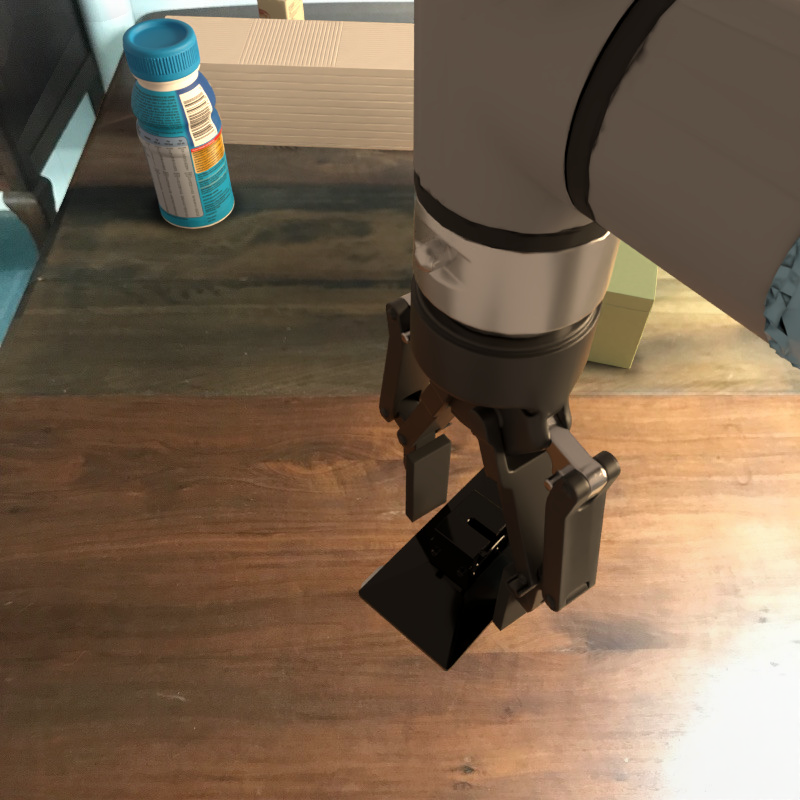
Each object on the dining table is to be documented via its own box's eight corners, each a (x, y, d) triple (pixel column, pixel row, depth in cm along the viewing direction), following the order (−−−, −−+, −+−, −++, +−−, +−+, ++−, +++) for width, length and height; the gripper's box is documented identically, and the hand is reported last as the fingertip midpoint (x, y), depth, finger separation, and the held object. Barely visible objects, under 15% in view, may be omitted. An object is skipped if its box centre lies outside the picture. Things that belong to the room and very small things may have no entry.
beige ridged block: (429, 106, 102) (432, 23, 94) (427, 155, 96) (430, 70, 87) (184, 98, 103) (165, 15, 95) (164, 145, 96) (143, 60, 88)
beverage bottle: (160, 238, 86) (110, 60, 70) (159, 191, 91) (111, 16, 75) (239, 228, 87) (206, 52, 71) (233, 182, 92) (201, 8, 76)
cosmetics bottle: (280, 52, 111) (272, -23, 103) (309, 58, 110) (303, -17, 102) (264, 70, 108) (254, -6, 100) (293, 76, 107) (286, 0, 99)
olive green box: (647, 206, 90) (677, 110, 81) (628, 373, 74) (662, 278, 65) (526, 185, 92) (541, 90, 83) (482, 343, 76) (495, 248, 67)
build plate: (447, 674, 44) (450, 642, 40) (353, 593, 47) (349, 556, 44) (573, 528, 50) (586, 488, 46) (482, 464, 53) (488, 422, 49)
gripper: (289, 178, 35) (326, 471, 52) (633, 515, 24) (534, 741, 41) (427, 124, 37) (418, 420, 55) (792, 405, 27) (635, 661, 44)
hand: (468, 558), depth 48 cm, fingers closed on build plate, 8 cm apart
